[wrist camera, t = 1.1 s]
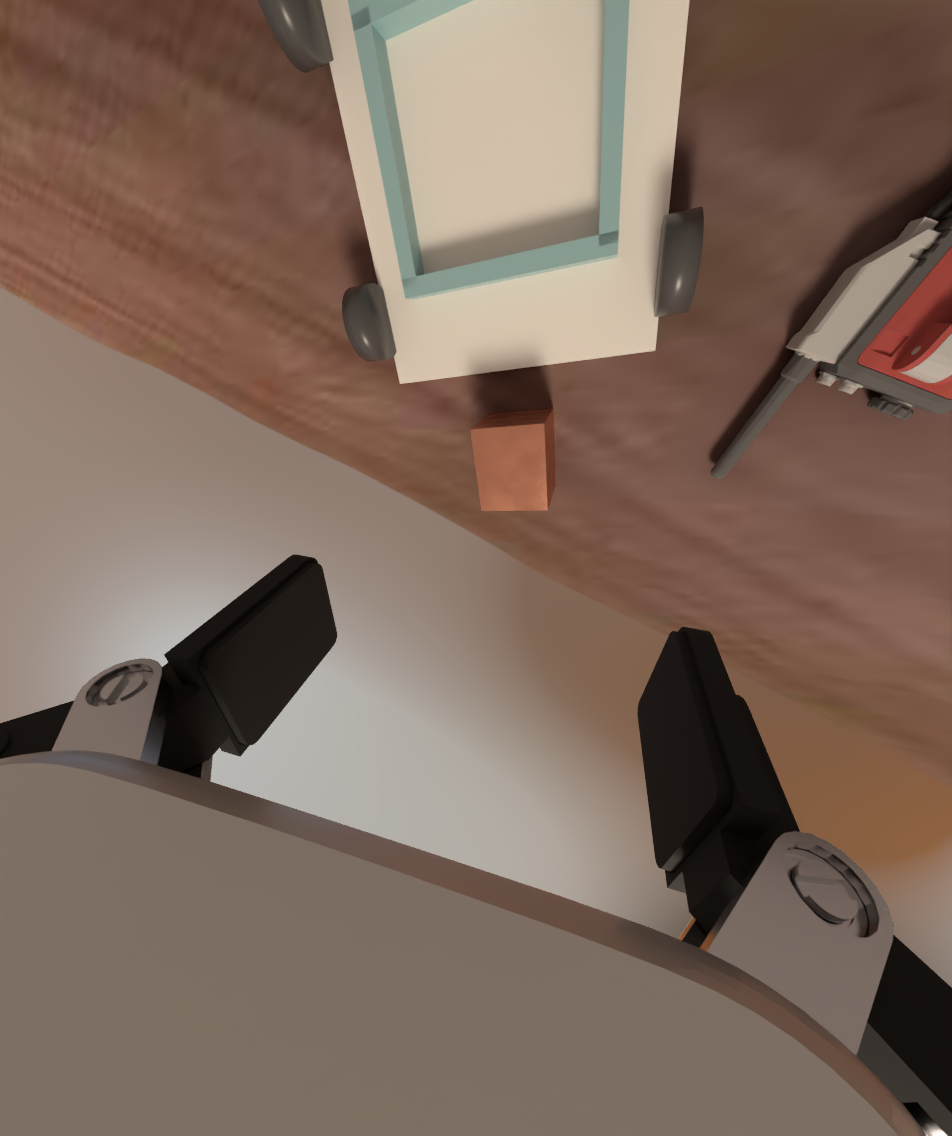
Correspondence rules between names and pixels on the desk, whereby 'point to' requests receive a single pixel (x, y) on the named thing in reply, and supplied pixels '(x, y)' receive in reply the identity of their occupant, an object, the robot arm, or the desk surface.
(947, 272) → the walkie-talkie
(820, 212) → the desk surface
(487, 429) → the orange-brown block
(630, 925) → the robot arm
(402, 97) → the chassis
